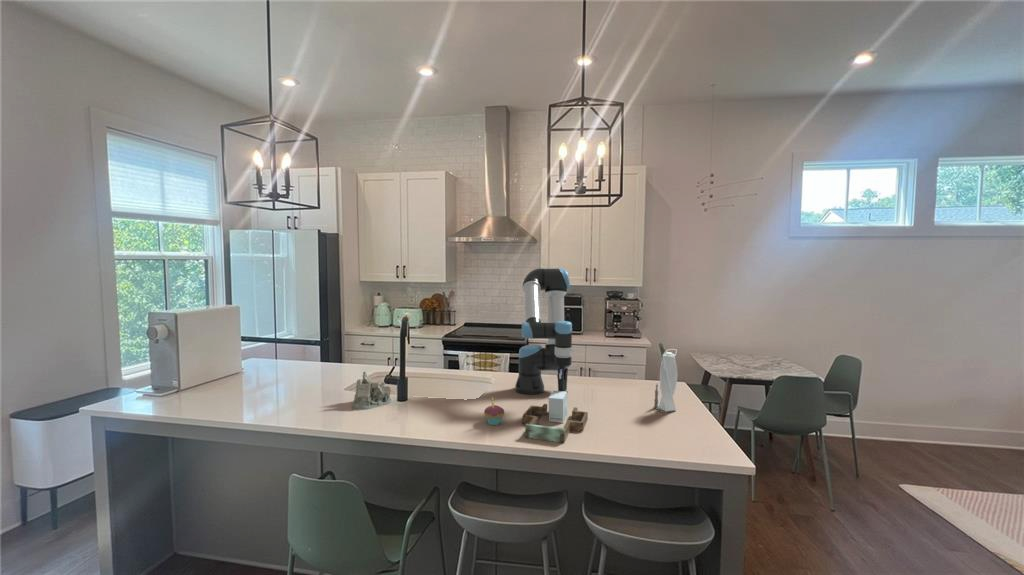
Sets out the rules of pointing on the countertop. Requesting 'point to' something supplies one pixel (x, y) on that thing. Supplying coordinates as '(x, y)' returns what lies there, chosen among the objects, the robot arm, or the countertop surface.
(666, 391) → the skyscraper
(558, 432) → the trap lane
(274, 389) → the countertop surface
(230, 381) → the countertop surface
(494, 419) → the cupcake
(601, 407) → the countertop surface
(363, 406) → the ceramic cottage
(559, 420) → the skincare box
